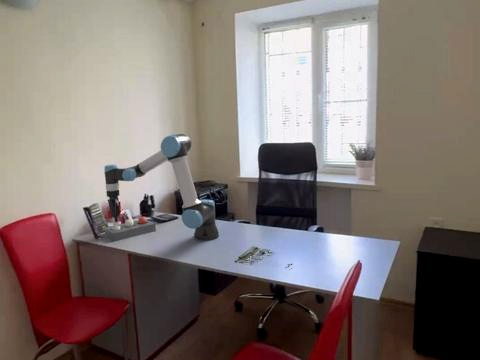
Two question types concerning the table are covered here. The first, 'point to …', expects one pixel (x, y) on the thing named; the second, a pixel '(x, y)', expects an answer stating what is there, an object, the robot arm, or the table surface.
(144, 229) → the grey tray
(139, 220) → the button red
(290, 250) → the table surface
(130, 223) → the button cream
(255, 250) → the model
